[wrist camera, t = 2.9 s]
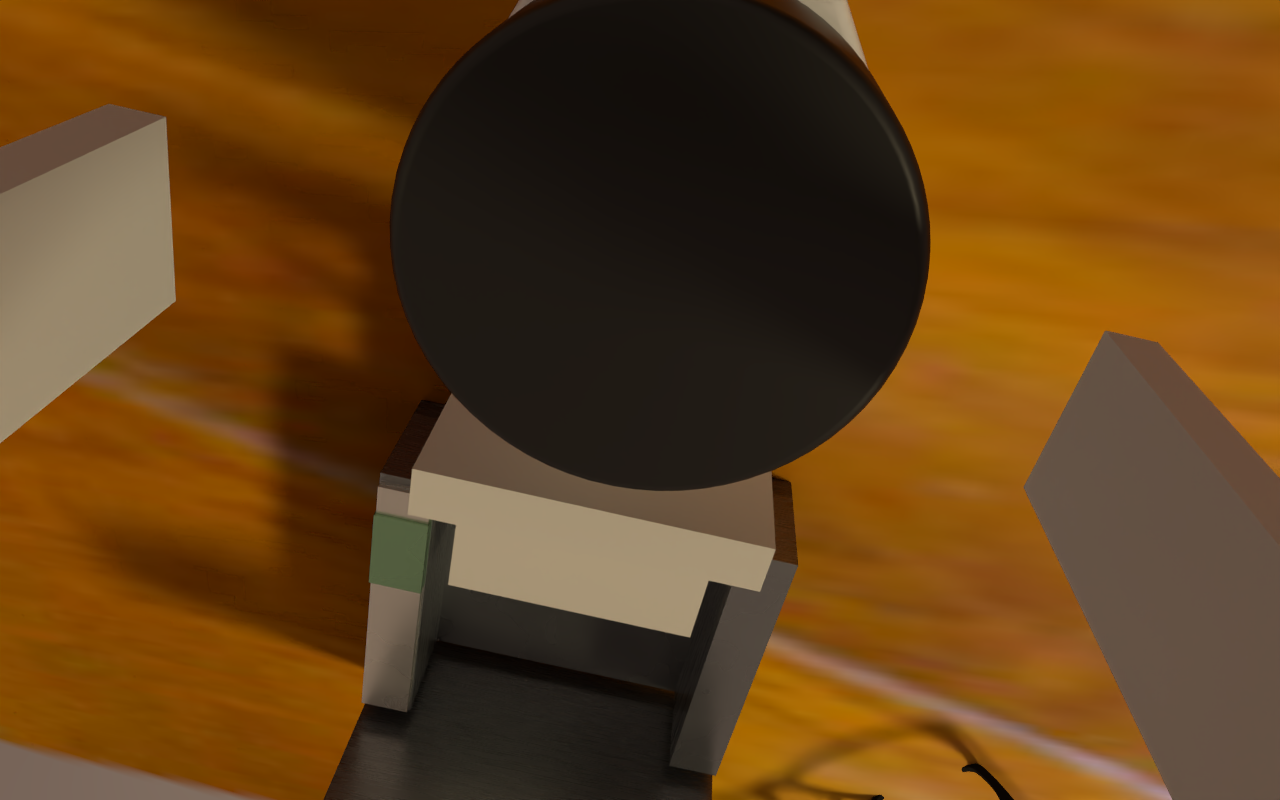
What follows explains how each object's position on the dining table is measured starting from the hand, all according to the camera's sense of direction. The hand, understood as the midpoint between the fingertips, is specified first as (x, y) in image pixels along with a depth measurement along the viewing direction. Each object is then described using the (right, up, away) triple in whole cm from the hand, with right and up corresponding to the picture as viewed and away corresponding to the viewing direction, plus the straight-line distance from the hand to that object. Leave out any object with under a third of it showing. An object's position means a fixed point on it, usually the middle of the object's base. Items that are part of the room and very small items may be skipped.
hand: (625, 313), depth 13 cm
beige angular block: (-1, -3, +15) cm, 15 cm away
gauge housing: (-2, -8, +19) cm, 21 cm away
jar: (+1, +7, +11) cm, 13 cm away
